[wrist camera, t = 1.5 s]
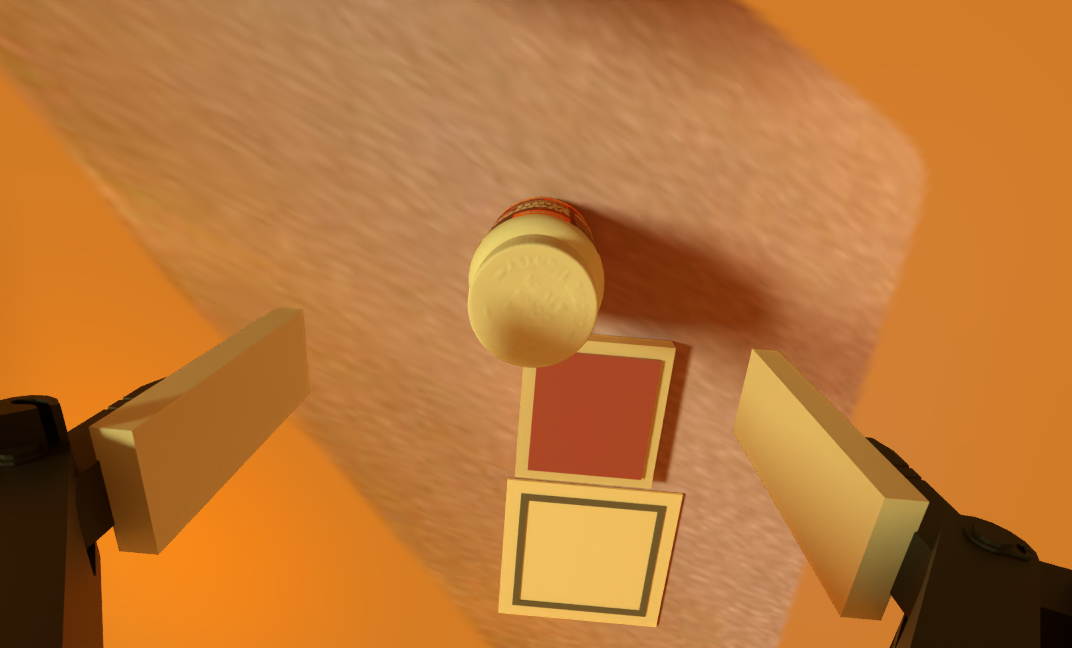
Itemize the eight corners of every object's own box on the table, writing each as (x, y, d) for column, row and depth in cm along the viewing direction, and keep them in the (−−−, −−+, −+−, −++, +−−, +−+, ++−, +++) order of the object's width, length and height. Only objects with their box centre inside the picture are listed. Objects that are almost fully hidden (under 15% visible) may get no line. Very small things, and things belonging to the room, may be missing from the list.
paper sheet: (508, 477, 36) (507, 480, 36) (682, 493, 36) (683, 495, 36) (498, 610, 40) (498, 613, 40) (655, 624, 40) (656, 628, 40)
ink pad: (526, 328, 33) (525, 337, 31) (671, 341, 33) (677, 350, 31) (516, 466, 36) (514, 479, 35) (647, 477, 36) (651, 491, 35)
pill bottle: (567, 177, 30) (573, 198, 19) (610, 274, 31) (637, 344, 21) (470, 223, 31) (425, 269, 20) (516, 315, 33) (497, 401, 22)
